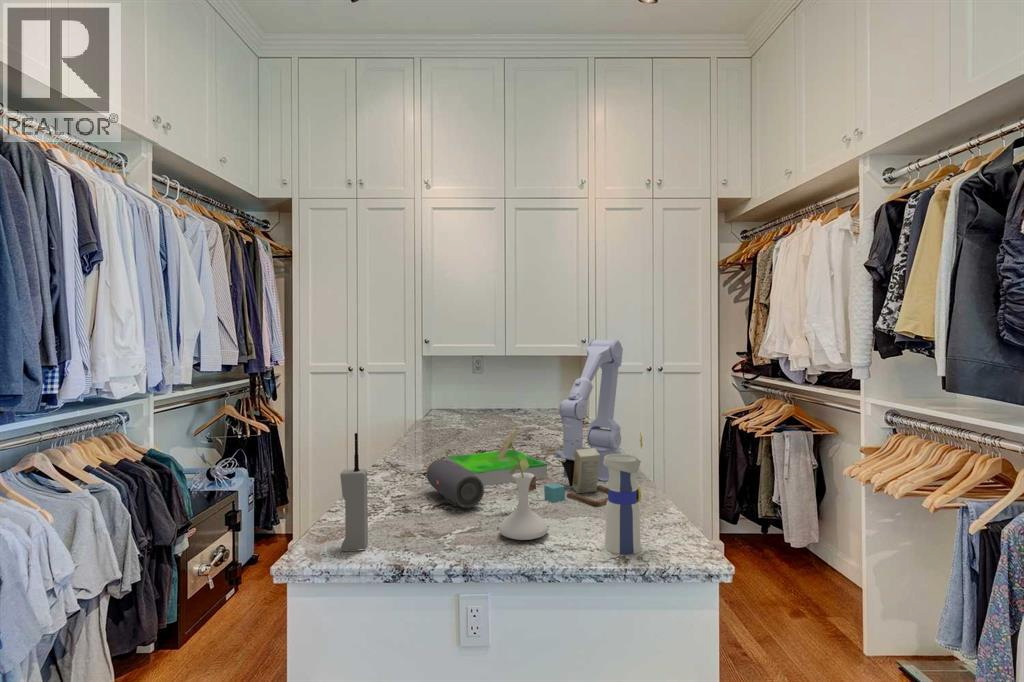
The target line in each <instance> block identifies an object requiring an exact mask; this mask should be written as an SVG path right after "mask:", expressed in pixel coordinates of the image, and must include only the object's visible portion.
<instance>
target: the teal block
mask: <svg viewBox="0 0 1024 682" xmlns="http://www.w3.org/2000/svg"><path fill="white" fill-rule="evenodd" d="M543 486H544V493H543V495H544V500H545V499H546V500H545V501H547V500H548V502H550V501H551V502H550V503H552V502H553V504H555V503H554V502H556V503H559V502H558V501H560V502H563V500H564V501H566V489H565V488H566V486H565V485H562V484H559V483H556V482H555V483H549V484H545V485H543Z"/></svg>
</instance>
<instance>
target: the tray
mask: <svg viewBox="0 0 1024 682" xmlns="http://www.w3.org/2000/svg"><path fill="white" fill-rule="evenodd" d="M515 451H516V453H517V456H518V458H519V462H520V461H521V460H522V459H524V458H525V457H526V459H527V461H528V464H529V467H528V468H527V469H526V470H524V471H522V472H523V473H531V474H533V475H534V476H536V479H537V480H540V479H539V478H544V479H547V478H548V464H547V463H545V462H543V461H540V460H538V459H536V458H534V457H532V456H529V455H527V454H525V453H523V452H521V451H518V450H516V449H515ZM499 453H500V452H498V450H497V451H488V452H479V453H468V454H459V455H450V456H449V455H448V456H447V460H448V461H451V462H453V463H455V464H457V465H459V466H461V467H463V468H465V469H466V470H468V471H470V472H471V473H473V474H474V475H475V476H477V477H478V478H479V479H480V480H481V482H482V484H483V487H487V486H486V485H491V486H495V485H494V484H499V485H502V484H501V483H506V484H510V483H509V482H514V483H516V481H515V480H514V478H513V477H512V475H513V474H516V473H521V471H520V469H519V467H518V468H517V470H516V471H515V473H513V474H509V473H510V470H511V469H512V467H513V466H514V465H516V464H518V460H517V457H516V455H515V453H514V451H513V449H509V450H508V452H506V454H505V455H504V456H503V457H502V458H500V459H499V457H497V455H498V454H499ZM546 477H547V478H546Z"/></svg>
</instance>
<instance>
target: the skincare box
mask: <svg viewBox="0 0 1024 682" xmlns="http://www.w3.org/2000/svg"><path fill="white" fill-rule="evenodd" d="M599 461H600V454H599V453H598V451H597V450H596V449H595V448H587V447H586V448H583V449H577V450H575V462H574V473H573V485H572V487H573V489H574V490H575V492H576V493H575V494H585V493H586V494H587V493H594V492H597V491H598V490H597V486H598V471H599Z"/></svg>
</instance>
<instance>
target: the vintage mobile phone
mask: <svg viewBox="0 0 1024 682" xmlns="http://www.w3.org/2000/svg"><path fill="white" fill-rule="evenodd" d="M358 437H359V436H358V433H357V432H355V433H354V456H353V457H354V459H353V460H354V464H353V465H354V468H352V469H351V468H348V469H346V468H345V469H343V470H342V471H341V472H340V473H339V475H340V483H341V484H340V485H341V494H342V495H341V496H342V498H343V500H344V502H345V503H344V509H345V510H344V511H345V512H344V514H345V517H344V518H345V521H344V522H345V537H344V540H343V541H342V543H341V546H340V548H341V550H358V549H365V550H366V548H367V545H368V543H369V532H368V531H369V526H368V525H369V523H368V522H369V521H368V520H369V519H368V516H369V514H368V513H369V512H368V511H369V509H368V470H367V468H360V467H359V448H358V447H359V443H358V442H359V439H358ZM341 550H340V551H341Z"/></svg>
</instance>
